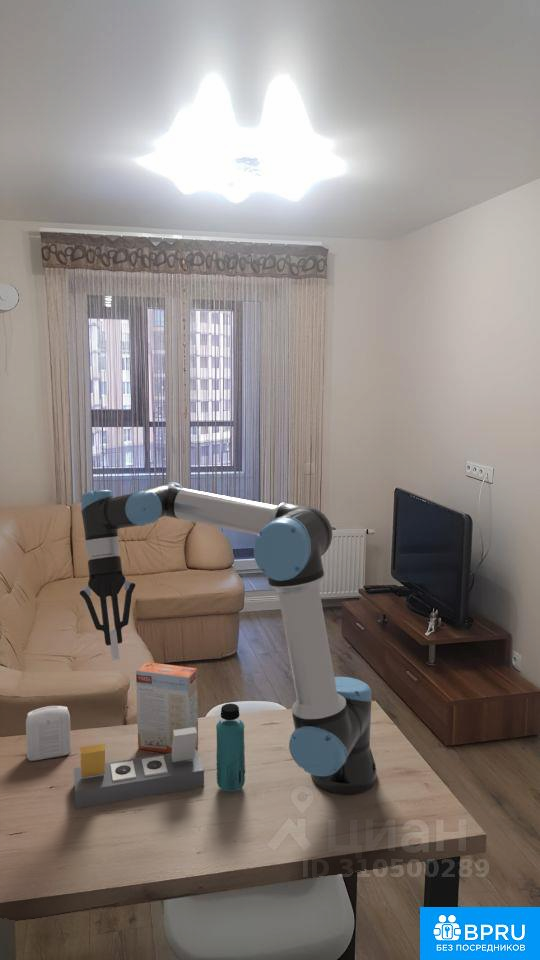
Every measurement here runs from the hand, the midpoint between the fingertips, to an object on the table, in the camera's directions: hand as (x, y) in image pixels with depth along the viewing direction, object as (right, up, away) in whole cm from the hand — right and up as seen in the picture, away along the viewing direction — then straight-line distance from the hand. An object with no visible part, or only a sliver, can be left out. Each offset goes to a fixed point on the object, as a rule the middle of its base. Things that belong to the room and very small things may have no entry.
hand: (115, 658), depth 160 cm
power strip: (+6, -28, -3) cm, 29 cm away
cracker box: (+10, -25, +13) cm, 30 cm away
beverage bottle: (+27, -29, -4) cm, 39 cm away
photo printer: (-18, -26, +9) cm, 33 cm away
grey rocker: (+16, -23, -1) cm, 28 cm away
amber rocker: (-4, -24, -7) cm, 25 cm away
